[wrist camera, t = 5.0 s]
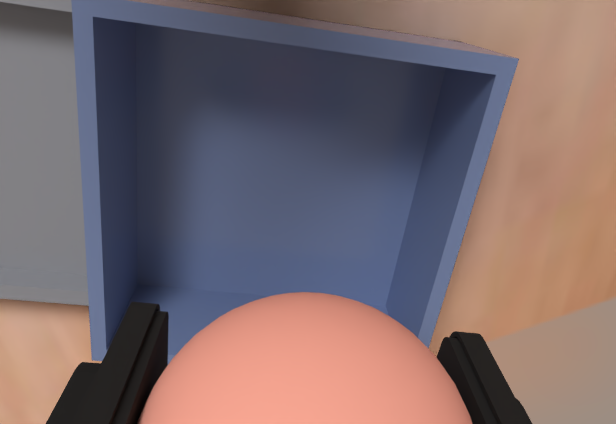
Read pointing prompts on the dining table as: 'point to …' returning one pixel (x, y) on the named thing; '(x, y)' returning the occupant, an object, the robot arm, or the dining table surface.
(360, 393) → the ball
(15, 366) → the dining table surface
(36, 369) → the dining table surface
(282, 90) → the blue storage bin
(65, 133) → the tray
